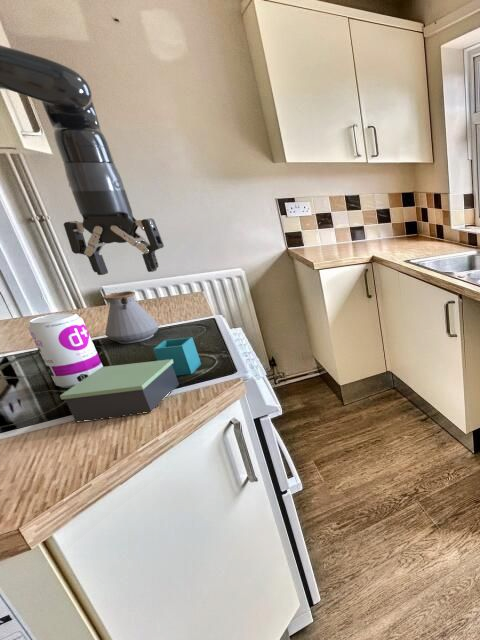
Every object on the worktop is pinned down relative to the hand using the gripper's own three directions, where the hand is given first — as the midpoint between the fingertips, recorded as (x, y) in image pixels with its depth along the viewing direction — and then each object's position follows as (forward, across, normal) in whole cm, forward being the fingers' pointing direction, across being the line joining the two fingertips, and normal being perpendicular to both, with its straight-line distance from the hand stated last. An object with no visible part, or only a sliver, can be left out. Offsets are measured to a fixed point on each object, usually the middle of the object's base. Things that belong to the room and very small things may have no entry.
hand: (128, 272), depth 86 cm
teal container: (+24, -2, -3) cm, 24 cm away
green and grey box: (+24, +1, +11) cm, 26 cm away
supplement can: (+24, +18, -4) cm, 31 cm away
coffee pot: (+24, +17, -28) cm, 41 cm away
